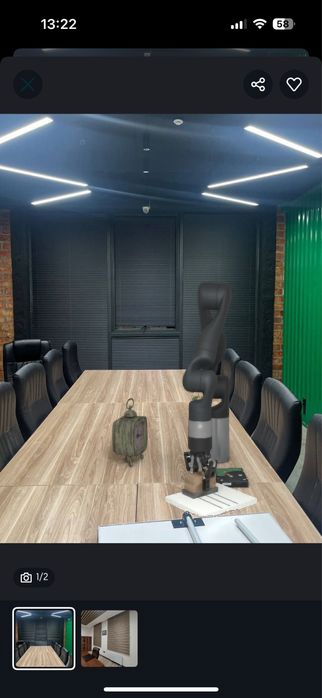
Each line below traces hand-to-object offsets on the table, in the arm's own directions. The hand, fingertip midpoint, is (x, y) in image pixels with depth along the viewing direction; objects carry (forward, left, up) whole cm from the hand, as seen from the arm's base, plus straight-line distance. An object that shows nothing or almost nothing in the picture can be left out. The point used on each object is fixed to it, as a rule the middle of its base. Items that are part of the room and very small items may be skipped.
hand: (200, 487), depth 156 cm
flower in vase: (-70, +60, -3) cm, 92 cm away
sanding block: (0, 0, -2) cm, 2 cm away
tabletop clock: (-45, +3, -3) cm, 45 cm away
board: (+5, 0, -3) cm, 6 cm away
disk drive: (-6, +19, -4) cm, 20 cm away
